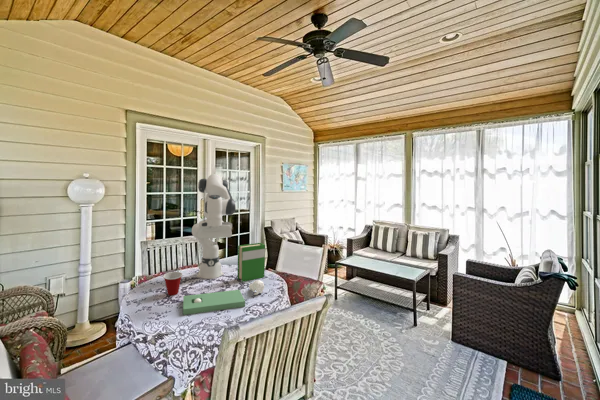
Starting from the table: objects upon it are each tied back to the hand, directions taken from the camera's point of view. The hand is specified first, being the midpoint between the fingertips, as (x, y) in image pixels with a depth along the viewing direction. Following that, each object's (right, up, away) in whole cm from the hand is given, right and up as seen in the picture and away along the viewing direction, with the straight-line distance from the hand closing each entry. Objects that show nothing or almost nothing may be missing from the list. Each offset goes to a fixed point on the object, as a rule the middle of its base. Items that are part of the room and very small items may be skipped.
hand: (214, 245), depth 173 cm
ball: (-5, -30, -14) cm, 33 cm away
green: (+3, -32, -10) cm, 33 cm away
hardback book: (+16, -29, +34) cm, 48 cm away
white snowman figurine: (+24, -31, +8) cm, 40 cm away
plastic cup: (-26, -30, +2) cm, 40 cm away
